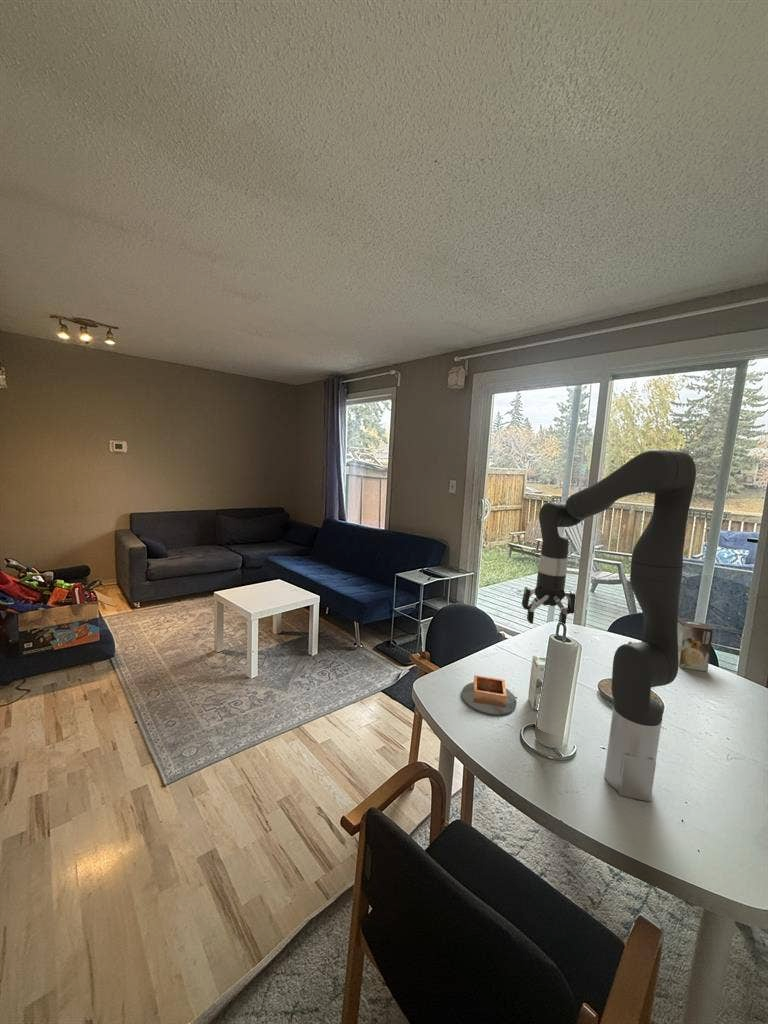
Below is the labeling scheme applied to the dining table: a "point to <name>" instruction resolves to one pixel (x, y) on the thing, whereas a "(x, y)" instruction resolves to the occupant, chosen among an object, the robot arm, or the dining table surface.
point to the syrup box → (536, 680)
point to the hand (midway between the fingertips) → (545, 624)
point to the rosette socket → (489, 696)
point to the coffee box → (694, 645)
